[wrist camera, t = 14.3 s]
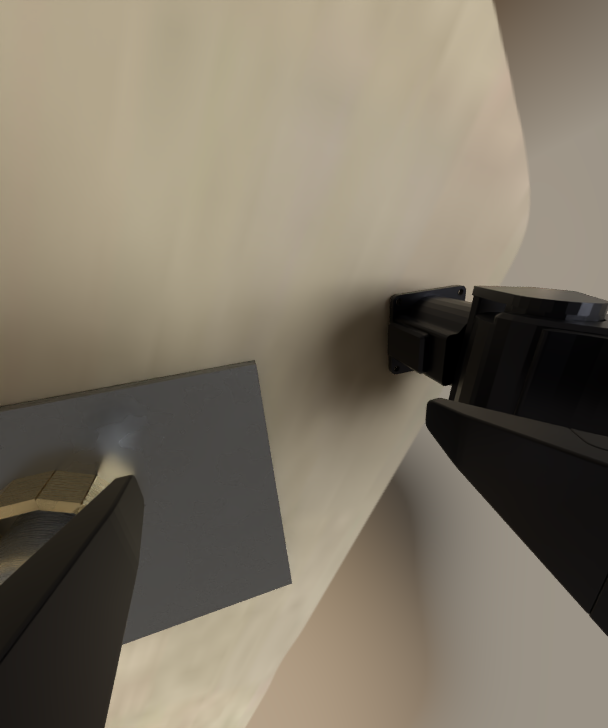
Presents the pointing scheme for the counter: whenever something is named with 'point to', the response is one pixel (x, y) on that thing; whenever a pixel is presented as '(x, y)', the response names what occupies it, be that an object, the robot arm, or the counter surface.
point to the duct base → (161, 483)
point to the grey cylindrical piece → (28, 538)
